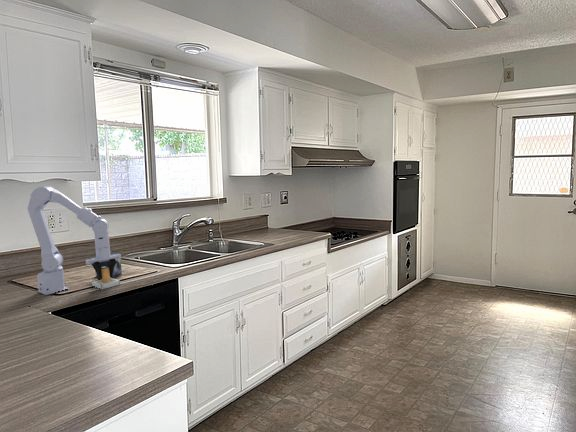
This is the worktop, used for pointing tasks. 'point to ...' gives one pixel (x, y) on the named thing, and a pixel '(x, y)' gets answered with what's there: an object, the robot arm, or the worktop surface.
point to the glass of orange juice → (105, 274)
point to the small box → (117, 267)
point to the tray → (106, 285)
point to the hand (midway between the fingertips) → (105, 277)
